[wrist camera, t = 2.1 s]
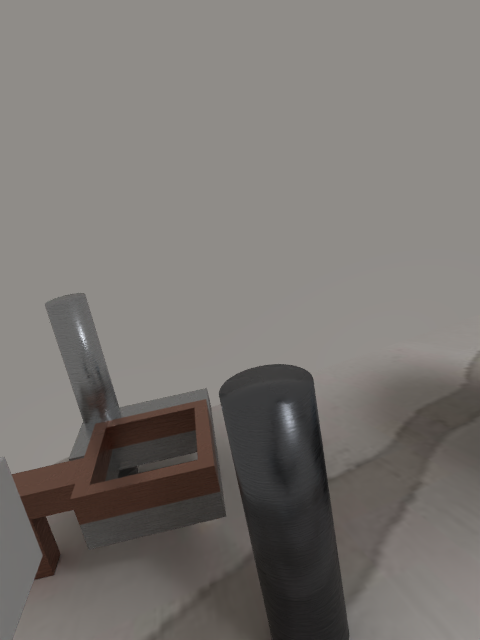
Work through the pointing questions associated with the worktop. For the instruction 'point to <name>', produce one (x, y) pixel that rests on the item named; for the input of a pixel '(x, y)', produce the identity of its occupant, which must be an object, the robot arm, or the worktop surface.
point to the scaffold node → (120, 453)
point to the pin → (286, 499)
